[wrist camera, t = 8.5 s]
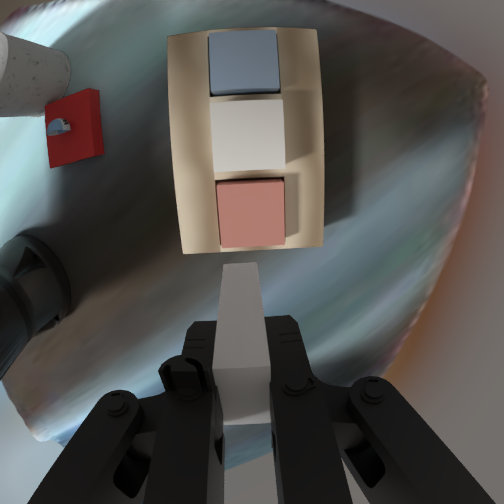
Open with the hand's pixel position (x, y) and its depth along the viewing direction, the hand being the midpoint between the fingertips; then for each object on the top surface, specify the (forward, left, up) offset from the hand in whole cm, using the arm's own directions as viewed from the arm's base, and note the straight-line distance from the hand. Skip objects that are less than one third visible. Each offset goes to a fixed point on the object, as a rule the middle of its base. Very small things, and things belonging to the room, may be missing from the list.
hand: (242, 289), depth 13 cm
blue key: (+1, +14, -16) cm, 21 cm away
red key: (+1, 0, -16) cm, 16 cm away
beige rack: (+1, +7, -20) cm, 21 cm away
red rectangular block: (-19, +11, -20) cm, 30 cm away
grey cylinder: (-25, +19, -20) cm, 37 cm away
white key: (+1, +7, -15) cm, 16 cm away
